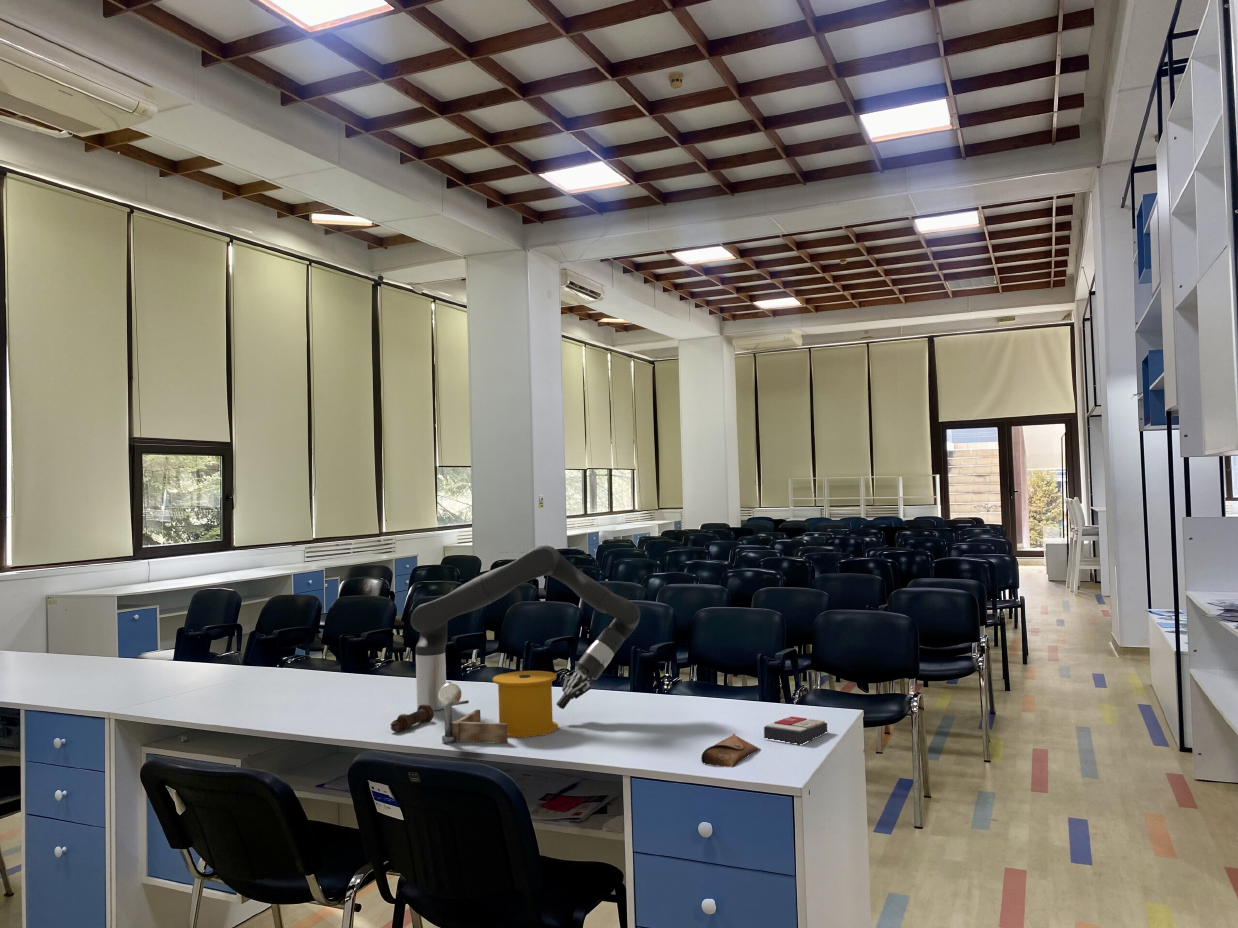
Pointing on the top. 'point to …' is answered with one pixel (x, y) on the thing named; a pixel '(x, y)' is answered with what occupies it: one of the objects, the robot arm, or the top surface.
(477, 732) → the wooden v-shaped bracket
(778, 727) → the dark grey box
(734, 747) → the sunglasses case
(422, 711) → the bolt
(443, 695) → the metal faucet
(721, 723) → the top surface
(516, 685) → the spool
